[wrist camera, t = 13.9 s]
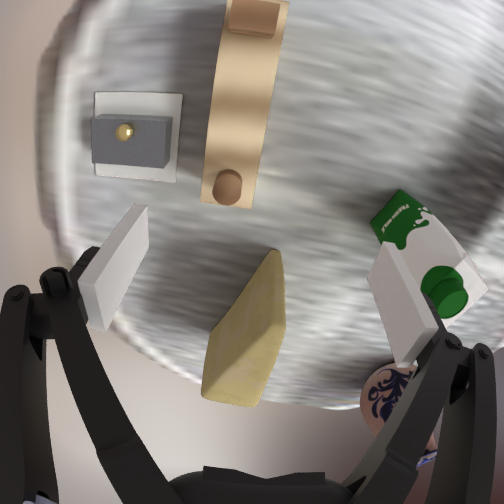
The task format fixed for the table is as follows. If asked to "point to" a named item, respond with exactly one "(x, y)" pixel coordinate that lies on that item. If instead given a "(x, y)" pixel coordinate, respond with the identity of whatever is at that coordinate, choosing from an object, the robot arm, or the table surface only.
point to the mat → (142, 106)
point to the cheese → (247, 339)
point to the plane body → (241, 99)
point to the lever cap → (131, 140)
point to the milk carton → (430, 256)
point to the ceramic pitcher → (388, 401)
